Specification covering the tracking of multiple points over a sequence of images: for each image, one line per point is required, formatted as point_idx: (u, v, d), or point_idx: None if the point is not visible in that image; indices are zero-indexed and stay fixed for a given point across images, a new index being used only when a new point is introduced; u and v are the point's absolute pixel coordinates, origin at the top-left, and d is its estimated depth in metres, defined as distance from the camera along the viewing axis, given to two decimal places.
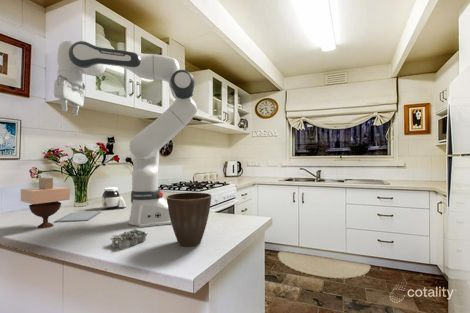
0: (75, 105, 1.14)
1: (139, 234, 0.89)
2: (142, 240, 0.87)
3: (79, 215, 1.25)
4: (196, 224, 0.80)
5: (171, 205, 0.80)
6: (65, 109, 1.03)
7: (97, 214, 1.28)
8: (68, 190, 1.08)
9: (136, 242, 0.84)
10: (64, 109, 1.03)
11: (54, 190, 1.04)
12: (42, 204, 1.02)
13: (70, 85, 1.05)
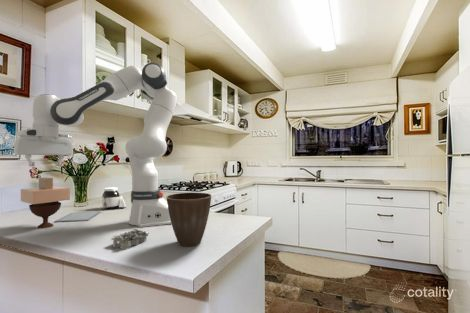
0: None
1: (140, 234, 0.89)
2: (143, 240, 0.87)
3: (79, 215, 1.25)
4: (196, 224, 0.80)
5: (171, 205, 0.80)
6: None
7: (97, 214, 1.28)
8: (68, 190, 1.08)
9: (137, 242, 0.84)
10: None
11: (54, 190, 1.04)
12: (42, 204, 1.02)
13: None
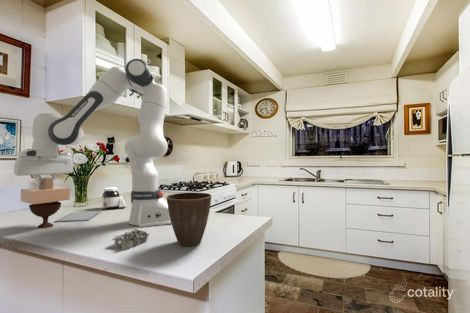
0: None
1: (141, 234, 0.89)
2: (144, 240, 0.87)
3: (79, 215, 1.25)
4: (196, 225, 0.80)
5: (171, 205, 0.80)
6: None
7: (97, 214, 1.28)
8: (68, 190, 1.08)
9: (138, 242, 0.84)
10: None
11: (54, 190, 1.04)
12: (42, 204, 1.02)
13: None
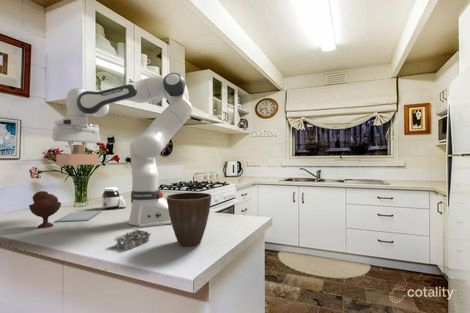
0: None
1: (142, 234, 0.89)
2: (146, 240, 0.87)
3: (79, 215, 1.25)
4: (196, 224, 0.80)
5: (171, 205, 0.80)
6: None
7: (97, 214, 1.28)
8: (97, 156, 1.24)
9: (141, 242, 0.84)
10: None
11: (86, 155, 1.20)
12: (42, 204, 1.02)
13: None
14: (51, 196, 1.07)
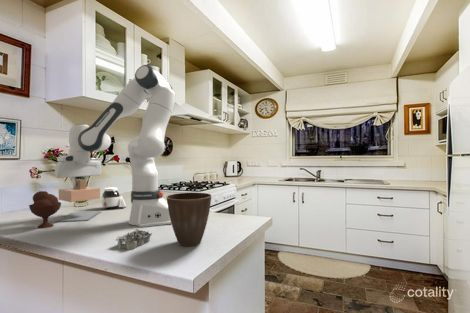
0: None
1: (143, 234, 0.89)
2: (147, 240, 0.87)
3: (79, 215, 1.25)
4: (196, 224, 0.80)
5: (171, 205, 0.80)
6: None
7: (97, 214, 1.28)
8: (98, 190, 1.25)
9: (142, 242, 0.84)
10: None
11: (87, 190, 1.21)
12: (42, 204, 1.02)
13: None
14: (51, 196, 1.07)
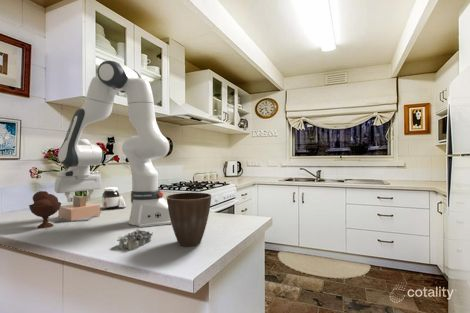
0: None
1: (143, 234, 0.89)
2: (148, 240, 0.87)
3: None
4: (196, 224, 0.80)
5: (171, 205, 0.80)
6: None
7: None
8: (98, 207, 1.25)
9: (144, 242, 0.84)
10: None
11: (87, 207, 1.21)
12: (42, 204, 1.02)
13: None
14: (51, 196, 1.07)
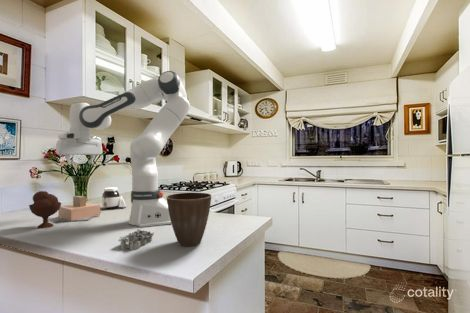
0: None
1: (144, 234, 0.89)
2: (149, 240, 0.87)
3: None
4: (196, 224, 0.80)
5: (171, 205, 0.80)
6: None
7: None
8: (98, 207, 1.25)
9: (145, 242, 0.84)
10: None
11: (87, 207, 1.21)
12: (42, 204, 1.02)
13: None
14: (51, 196, 1.07)
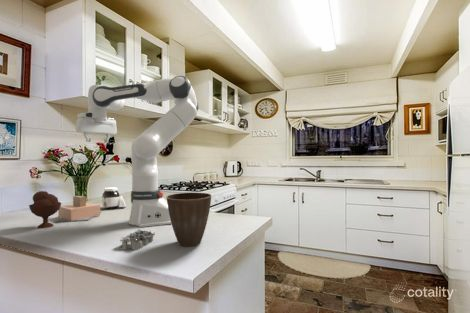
0: None
1: (145, 234, 0.89)
2: (150, 240, 0.87)
3: None
4: (196, 224, 0.80)
5: (171, 205, 0.80)
6: None
7: None
8: (98, 207, 1.25)
9: (147, 242, 0.84)
10: None
11: (87, 207, 1.21)
12: (42, 204, 1.02)
13: None
14: (51, 196, 1.07)
